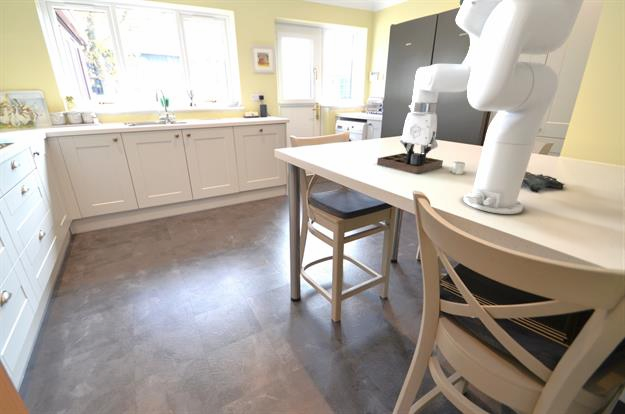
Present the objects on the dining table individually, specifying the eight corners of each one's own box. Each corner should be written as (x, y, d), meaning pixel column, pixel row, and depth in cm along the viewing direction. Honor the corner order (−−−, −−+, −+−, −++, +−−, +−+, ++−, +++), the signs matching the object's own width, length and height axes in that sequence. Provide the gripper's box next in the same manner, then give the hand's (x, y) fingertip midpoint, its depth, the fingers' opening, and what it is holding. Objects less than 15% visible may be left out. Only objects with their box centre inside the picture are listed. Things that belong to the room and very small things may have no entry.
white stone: (460, 174, 96) (462, 164, 95) (449, 172, 99) (451, 162, 98) (464, 173, 99) (467, 162, 97) (454, 170, 101) (456, 160, 100)
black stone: (416, 165, 97) (418, 155, 96) (407, 163, 99) (408, 153, 98) (422, 164, 99) (424, 154, 98) (413, 162, 102) (414, 152, 100)
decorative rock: (519, 162, 97) (575, 168, 86) (514, 179, 99) (570, 187, 88) (494, 165, 87) (556, 172, 75) (490, 185, 88) (550, 195, 77)
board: (416, 174, 96) (417, 166, 95) (376, 164, 108) (377, 158, 108) (441, 167, 106) (443, 160, 105) (403, 158, 118) (403, 152, 117)
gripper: (395, 107, 96) (388, 161, 103) (441, 110, 84) (431, 170, 91) (407, 107, 100) (401, 158, 107) (454, 109, 89) (443, 167, 95)
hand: (415, 163), depth 99 cm, fingers closed on black stone, 3 cm apart
